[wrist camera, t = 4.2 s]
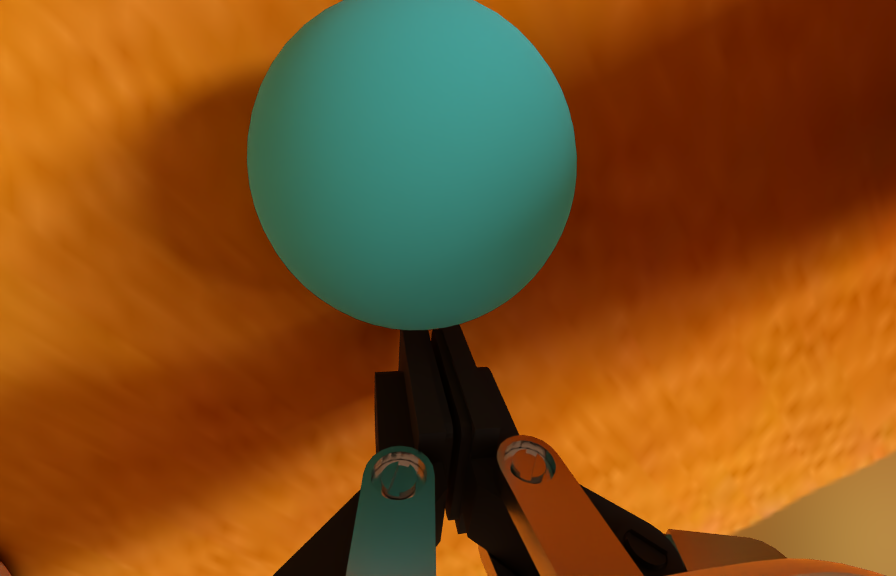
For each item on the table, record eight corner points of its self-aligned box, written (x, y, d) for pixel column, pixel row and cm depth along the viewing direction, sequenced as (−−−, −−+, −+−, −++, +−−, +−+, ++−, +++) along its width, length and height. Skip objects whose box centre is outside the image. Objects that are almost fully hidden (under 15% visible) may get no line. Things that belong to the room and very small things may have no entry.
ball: (296, 263, 11) (242, 421, 6) (260, 6, 8) (105, -126, 3) (498, 256, 12) (603, 381, 7) (523, 29, 10) (721, -40, 4)
